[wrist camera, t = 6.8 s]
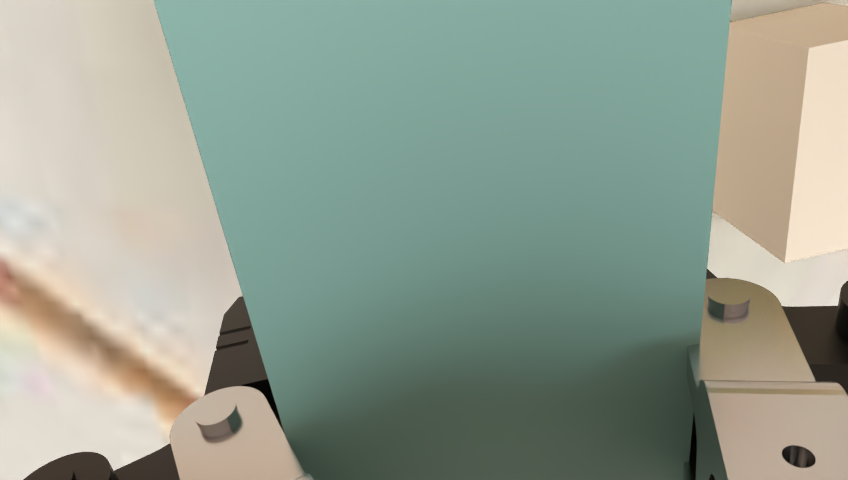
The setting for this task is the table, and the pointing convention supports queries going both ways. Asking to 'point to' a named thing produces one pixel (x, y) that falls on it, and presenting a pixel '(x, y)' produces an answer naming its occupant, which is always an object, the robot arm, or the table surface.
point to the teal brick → (465, 223)
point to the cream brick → (786, 131)
